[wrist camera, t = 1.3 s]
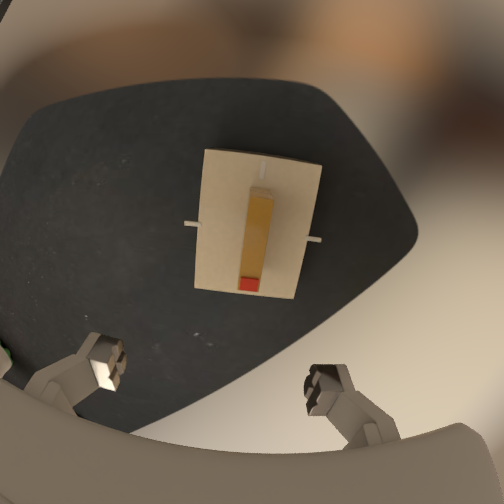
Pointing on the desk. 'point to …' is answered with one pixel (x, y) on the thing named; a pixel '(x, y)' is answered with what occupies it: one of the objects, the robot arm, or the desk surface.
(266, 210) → the yellow slab
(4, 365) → the cup
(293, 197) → the tan block
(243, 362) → the desk surface
